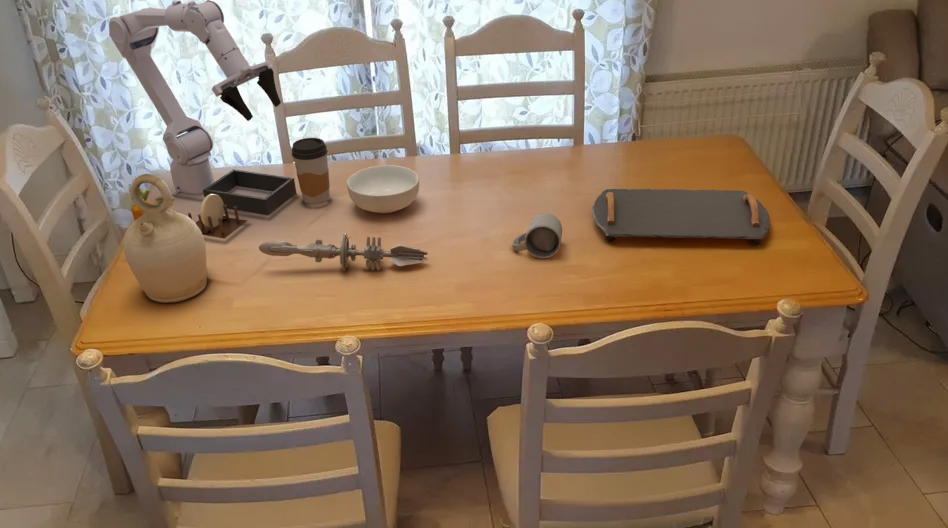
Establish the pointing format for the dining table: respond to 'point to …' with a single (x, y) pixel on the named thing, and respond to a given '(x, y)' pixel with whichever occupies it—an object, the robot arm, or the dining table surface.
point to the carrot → (137, 211)
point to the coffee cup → (312, 169)
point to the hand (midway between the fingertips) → (264, 111)
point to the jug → (165, 247)
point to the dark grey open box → (277, 184)
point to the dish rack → (220, 225)
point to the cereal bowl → (383, 188)
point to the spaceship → (348, 252)
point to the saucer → (212, 209)
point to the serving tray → (680, 214)
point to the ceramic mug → (541, 236)
